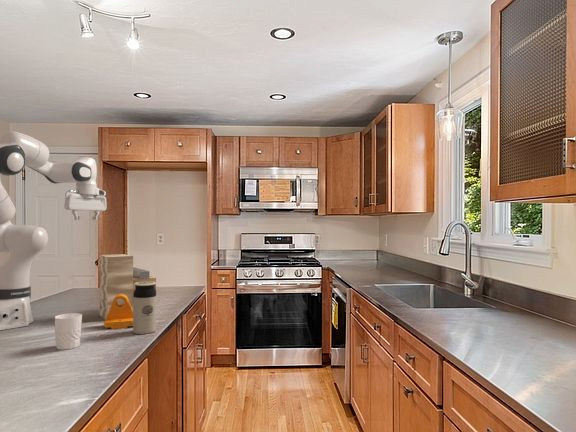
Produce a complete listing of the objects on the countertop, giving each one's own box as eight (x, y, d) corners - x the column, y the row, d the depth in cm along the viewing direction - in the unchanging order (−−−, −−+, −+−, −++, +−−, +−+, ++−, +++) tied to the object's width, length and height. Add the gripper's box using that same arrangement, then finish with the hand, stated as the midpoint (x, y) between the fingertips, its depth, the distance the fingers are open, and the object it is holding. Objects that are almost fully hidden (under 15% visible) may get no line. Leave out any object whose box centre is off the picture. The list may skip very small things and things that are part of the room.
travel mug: (133, 329, 154) (133, 281, 154) (155, 328, 157) (155, 281, 157) (132, 335, 147) (133, 285, 147) (156, 333, 150) (156, 284, 150)
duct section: (125, 274, 192) (125, 267, 192) (133, 273, 194) (134, 267, 194) (140, 279, 176) (140, 272, 176) (149, 278, 179) (149, 271, 179)
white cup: (75, 341, 139) (75, 312, 139) (86, 346, 134) (86, 315, 134) (50, 347, 133) (50, 316, 133) (60, 352, 128) (60, 319, 128)
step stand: (99, 315, 177) (100, 255, 177) (145, 309, 190) (146, 253, 190) (107, 320, 168) (108, 257, 168) (155, 314, 180) (156, 255, 181)
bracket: (103, 329, 154) (104, 297, 154) (105, 325, 161) (106, 294, 161) (134, 327, 158) (134, 296, 158) (135, 323, 164) (135, 293, 165)
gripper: (70, 189, 186) (69, 219, 185) (108, 192, 204) (108, 220, 203) (61, 189, 189) (61, 219, 188) (100, 192, 207) (100, 220, 206)
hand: (85, 220), depth 196 cm, fingers open, 8 cm apart
